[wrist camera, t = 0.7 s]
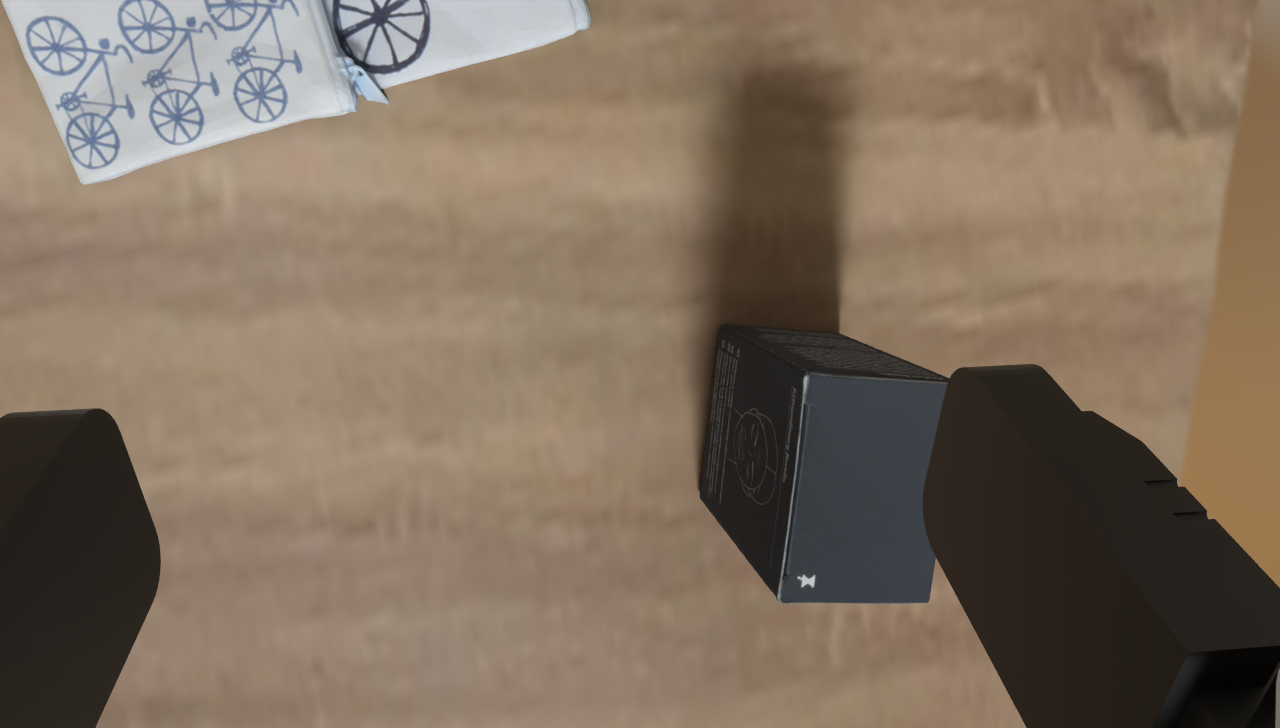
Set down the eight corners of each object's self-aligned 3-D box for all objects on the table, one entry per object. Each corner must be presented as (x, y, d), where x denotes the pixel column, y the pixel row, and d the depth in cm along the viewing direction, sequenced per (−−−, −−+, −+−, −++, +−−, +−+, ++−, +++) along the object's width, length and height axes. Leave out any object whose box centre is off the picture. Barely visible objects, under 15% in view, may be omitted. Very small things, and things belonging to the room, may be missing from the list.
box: (818, 502, 41) (932, 609, 31) (695, 497, 40) (772, 607, 30) (843, 329, 40) (971, 382, 29) (716, 320, 39) (804, 371, 28)
